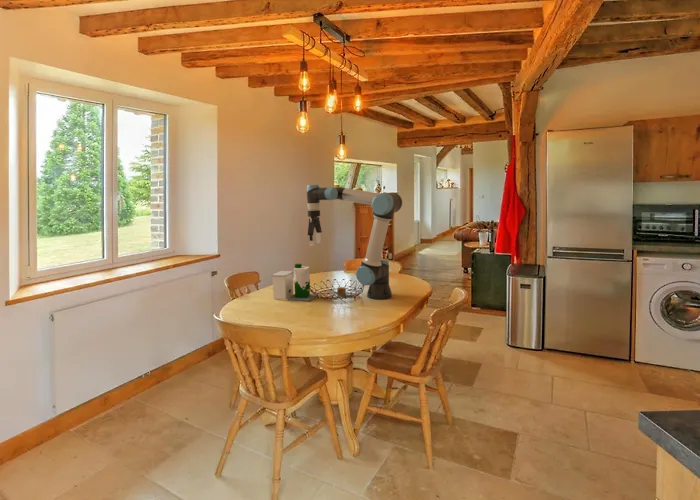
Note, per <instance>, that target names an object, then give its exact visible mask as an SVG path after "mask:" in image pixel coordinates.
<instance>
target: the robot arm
mask: <svg viewBox="0 0 700 500" xmlns="http://www.w3.org/2000/svg"><path fill="white" fill-rule="evenodd" d="M306 199H307V204H306V206H307V210H308V211H307V216H308V217H310V218H308V227H307V236H308V238H309V240H308V241H309V242H308V243H309V247H315V242H316V244H321V242H322V241H321V240H322V239H321V238H322V237H321V236H322V235H321V233H322V232H323V231H322V227H321V222H320V221H321V220H320V216H321V210H320V209H321V204H320V203H321V201H335V200H340V201H345V202H346V201H347V202H352V203H356V204H364V205H370V206H371V209H372V216H373V218H374V219H373V223H372V226H371V231H370V236H369V241H368V244H367V249H366V253H365V257H364V258H362V259H361V263H360V266H359V267H357V269H356V271H355V278H356V280H357V281H358V283H359V284H361V285H362V286H368V290H367V292H366V296H367V298H369V299H373V300H388V299H391V298H392V296H393V293H392V292H393V291H392V289H391V287H390V263H389V262H390V261H389V260H388V259H382V258H381V257H382V254H383V249H384V244H385V240H386V237H387V233H388V229H389V224H390V221H393V219H394V215H395V213H397V212H398V211H400V210H401V208H402V207H403V198H402V196H401V195H399V193H396V192H385V191H384V192H382V193H380V192H375V191H374V192H373V191H366V190H361V189H360V190H359V189H353V188H348V187H343V186H330V187H329V186H328V187H320V185H319V184H308V185H307V186H306ZM314 232H315V236H314Z"/></svg>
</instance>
